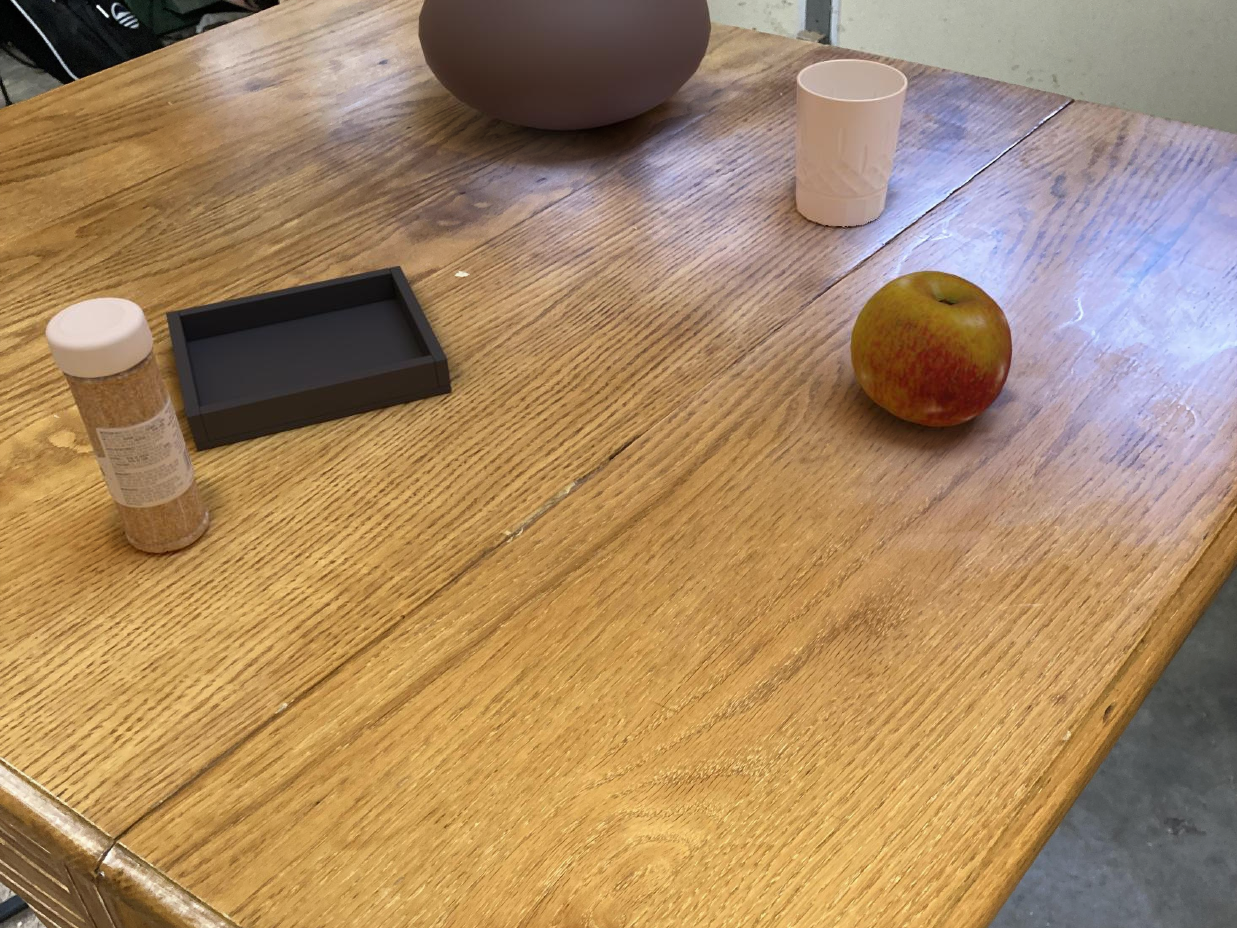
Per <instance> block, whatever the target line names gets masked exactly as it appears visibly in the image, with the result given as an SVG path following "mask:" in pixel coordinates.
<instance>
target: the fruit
mask: <svg viewBox="0 0 1237 928" xmlns="http://www.w3.org/2000/svg"><path fill="white" fill-rule="evenodd" d="M854 322H855V323H854V325H853V328H852V330H851V336H850V337H851V338H850V344H849V345H850V346H849V347H850V359H851V360H850V361H851V365H852V369H853V372H854V374H855V376H856V379H857V382H858V384H859V385H860V386H861V388H862V389H863V391H864V393H865V394H866V395H867V396H868V397H869V398H870V399H871V400H872V401H873V402H874V403H875V404H877V405H878V406H880V408H882V409H884V410H885V411H887V412H889V413H890V414H892V415H893V416H894V417H897V418H899V419H901V420H903V421H907V422H911V423H915V424H917V425H922V426H927V427H937V428H939V427H940V428H943V427H944V428H945V427H950V426H952V427H953V426H957V425H960V424H964V423H967V422H968V421H970V420H972V419H975V418H976V417H977V416H980V415H981V414H982V413H984V412H985V411H987V409H988V408H989V407H990V406H991V405H992V404H994V402H995V401H996V400H997V398H998V397H999V396H1000V394H1001V392H1002V391H1003V388H1004V386H1005V384H1006V382H1007V381H1008V377H1009V373H1010V369H1011V366H1012V358H1013V339H1012V331H1011V327H1010V324H1009V322H1008V319H1007V316H1006V315H1005V313H1004V310H1003V309H1002V308H1001V307H1000V305H999V304H998V303H997V301H996V300H994V298H993V297H991V296H990V295H989V294H988V293H987V292H986V291H985V290H983V289H982V288H981V287H980V286H978V285H977V284H975V283H973V282H971V281H969V280H967V279H965V278H964V277H962V276H959V275H956V274H952V273H949V272H944V271H940V270H920V271H914V272H910V273H907V274H904V275H900V276H898V277H896V278H894V279H892V280H890V281H889V282H887V283H886V284H884V285H883V286H882V287H881V288H879V289H878V290H877V291H876V292H875V293H874V294H872V296H870V298H869V299H868V300H867V301H866V303H865V304H864V306H863V307H862V309H861V310H860V311H859V313H858V315H857V317H856V320H855V321H854Z"/></svg>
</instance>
